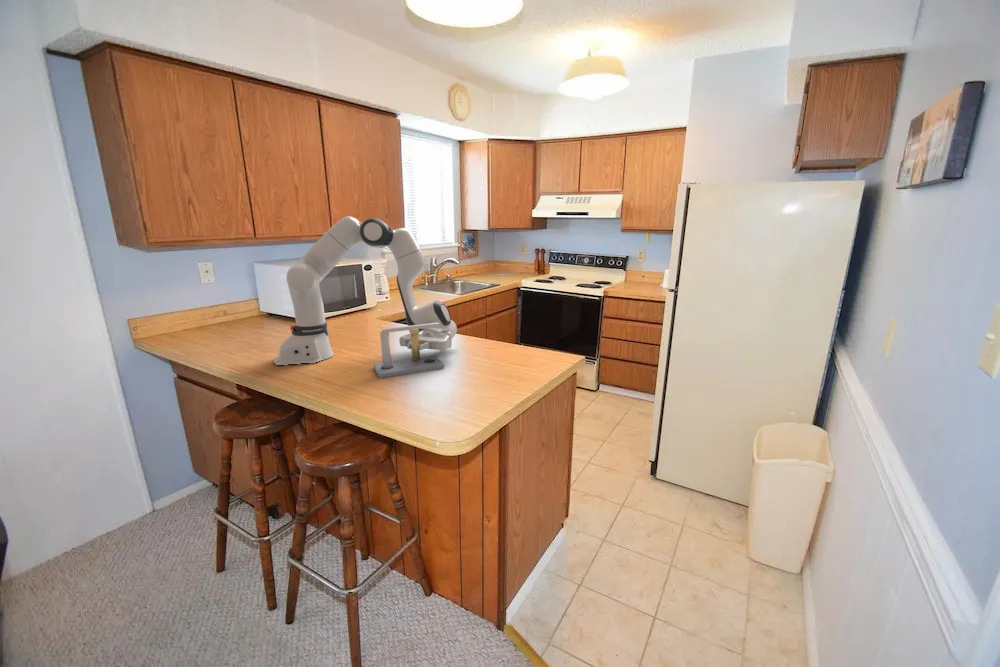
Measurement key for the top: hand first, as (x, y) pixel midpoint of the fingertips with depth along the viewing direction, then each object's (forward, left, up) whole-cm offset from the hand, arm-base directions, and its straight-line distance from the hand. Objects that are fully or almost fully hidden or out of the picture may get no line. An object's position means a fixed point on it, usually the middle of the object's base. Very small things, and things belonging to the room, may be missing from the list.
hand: (414, 347), depth 160 cm
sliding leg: (+1, +1, -6) cm, 6 cm away
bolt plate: (-2, +1, -8) cm, 8 cm away
